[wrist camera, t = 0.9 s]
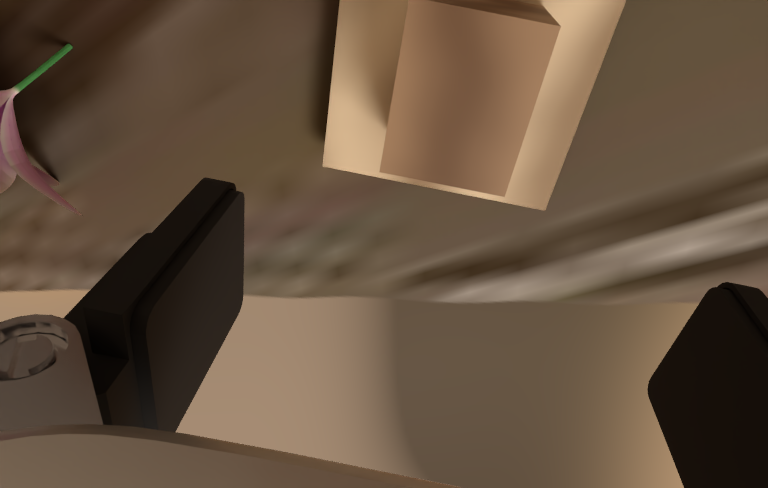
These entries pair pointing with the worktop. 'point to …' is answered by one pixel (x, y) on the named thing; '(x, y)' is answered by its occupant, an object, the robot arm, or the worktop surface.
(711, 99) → the worktop surface
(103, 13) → the worktop surface
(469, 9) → the lid
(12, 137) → the lily
